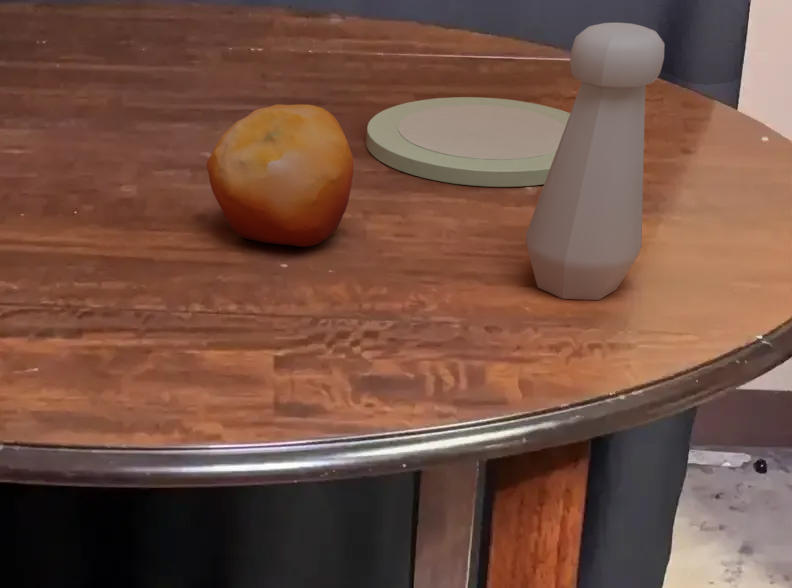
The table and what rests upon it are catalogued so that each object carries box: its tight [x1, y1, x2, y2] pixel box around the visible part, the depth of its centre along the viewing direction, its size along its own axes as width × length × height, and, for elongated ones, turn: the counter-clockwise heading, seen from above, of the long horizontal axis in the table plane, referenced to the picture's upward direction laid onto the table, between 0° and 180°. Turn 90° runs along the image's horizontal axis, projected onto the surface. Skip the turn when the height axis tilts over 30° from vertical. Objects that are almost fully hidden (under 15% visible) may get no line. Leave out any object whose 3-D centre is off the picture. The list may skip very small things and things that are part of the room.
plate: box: [365, 96, 571, 188], centre depth 98 cm, size 15×15×1 cm
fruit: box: [206, 103, 355, 248], centre depth 85 cm, size 8×8×8 cm
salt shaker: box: [525, 22, 665, 301], centre depth 76 cm, size 6×6×13 cm
